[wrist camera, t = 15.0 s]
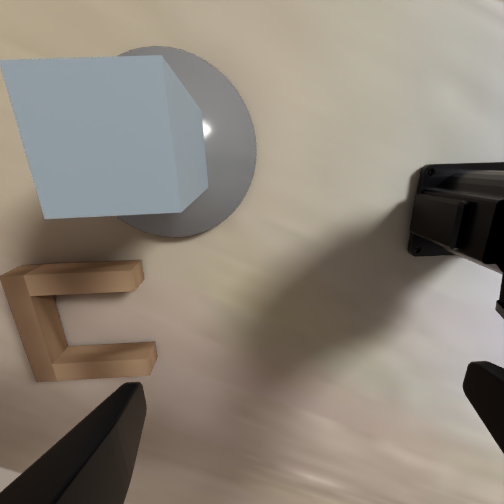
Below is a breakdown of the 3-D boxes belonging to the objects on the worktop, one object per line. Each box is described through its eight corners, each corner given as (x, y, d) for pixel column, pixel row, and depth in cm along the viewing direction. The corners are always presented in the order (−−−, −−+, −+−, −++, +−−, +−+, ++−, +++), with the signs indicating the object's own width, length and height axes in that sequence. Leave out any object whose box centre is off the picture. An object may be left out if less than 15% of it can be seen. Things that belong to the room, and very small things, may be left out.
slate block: (201, 110, 16) (161, 55, 8) (208, 187, 18) (181, 212, 9) (124, 113, 16) (-2, 59, 8) (138, 190, 18) (44, 219, 9)
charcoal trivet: (253, 49, 16) (254, 44, 15) (257, 231, 19) (258, 234, 19) (60, 51, 15) (53, 47, 15) (100, 238, 19) (95, 240, 18)
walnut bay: (141, 260, 20) (130, 270, 18) (157, 357, 22) (150, 375, 20) (22, 264, 19) (-1, 276, 17) (53, 362, 22) (36, 381, 20)
